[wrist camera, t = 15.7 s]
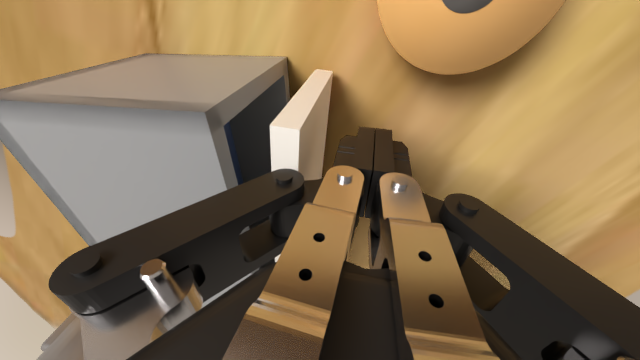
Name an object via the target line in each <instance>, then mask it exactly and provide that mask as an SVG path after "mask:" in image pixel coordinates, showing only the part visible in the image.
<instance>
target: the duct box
mask: <svg viewBox="0 0 640 360" xmlns="http://www.w3.org/2000/svg"><path fill="white" fill-rule="evenodd" d="M289 101H290V90H289V78H288V65H287V57H273V56H229V55H185V54H142V55H138V56H134V57H130V58H125V59H121V60H117V61H113V62H109V63H105V64H101V65H97V66H93V67H89V68H85V69H81V70H77V71H73V72H69V73H65V74H61V75H56V76H52V77H48V78H44V79H40V80H36V81H32V82H28V83H24V84H20V85H16V86H12V87H8V88H4V89H0V140H1V142H2V143H3V144H4V145H5V146H6V147H7V149H8V150H9V151H10V152H11V153H12V155H13V156H14V157H15V158H16V159H17V161H18V162H19V163H20V164H21V165H22V167H23V168H24V169H25V170H26V171H27V173H28V174H29V175H30V176H31V177H32V178H33V180H34V181H35V182H36V183H37V184H38V186H39V187H40V188H41V189H42V190H43V192H44V193H45V194H46V195H47V196H48V198H49V199H50V200H51V201H52V202H53V204H54V205H55V206H56V207H57V208H58V209H59V211H60V212H61V213H62V214H63V215H64V217H65V218H66V219H67V220H68V221H69V223H70V224H71V225H72V226H73V227H74V229H75V230H76V231H77V232H78V233H79V235H80V236H81V237H82V238H83V239H84V241H85V242H86V243H87V244H88V245H89V246H92V245H94V244H97V243H99V242H101V241H104V240H106V239H109V238H111V237H114V236H116V235H118V234H121V233H123V232H126V231H128V230H131V229H133V228H136V227H138V226H140V225H143V224H145V223H148V222H150V221H153V220H155V219H157V218H160V217H162V216H165V215H167V214H170V213H172V212H174V211H177V210H179V209H182V208H184V207H187V206H189V205H192V204H194V203H196V202H199V201H201V200H204V199H206V198H209V197H211V196H213V195H216V194H218V193H221V192H223V191H226V190H228V189H231V188H233V187H235V186H238V185H240V184H243V183H245V182H248V181H250V180H252V179H255V178H257V177H260V176H262V175H265V174H267V173H270V172H271V147H270V124H271V123H272V122H273V121H274V119H275V118H276V117H277V116H278V114H279V113H280V112H281V111H282V110H283V108H284V107H285V106H286V105H287V104H288V102H289ZM269 219H270V217H269V216H267V217H265V218H263V219H261V220H259V221H257V222H255V223H253V224H251V225H249V226H247V227H246V228H245V229H244V230H243V231H242V232H241V233H240V234H242V233H244V232H246V231H248V230H250V229H252V228H254V227H256V226H257V225H259V224H261V223H263V222H265V221H267V220H269ZM274 262H275V258H274V259H272V260H270V261H269V262H267V263H266V264H264V265H262V266H261V267H259V268H258V269H256V270H255V271H253V272H251V273H250V274H248V275H247V276H245V277H243V278H242V279H240V280H239V281H237V282H235V283H234V284H232V285H231V286H229V287H227V288H226V289H224V290H223V291H221V292H219V293H218V294H216V295H215V296H213V297H211V298H210V299H208V300H207V301H205V302H204V303H203V304H202V307H201V308H203V307H204V306H206V305H207V304H209V303H210V302H212V301H213V300H215V299H216V298H218V297H219V296H221V295H222V294H224V293H225V292H227V291H228V290H229V289H231V288H232V287H234V286H235V285H237V284H238V283H240V282H241V281H243V280H244V279H246V278H247V277H249V276H250V275H252V274H253V273H255V272H256V271H258V270H259V269H261V268H263V267H265V266H267V265H269V264H272V263H274Z"/></svg>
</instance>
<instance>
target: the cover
mask: <svg viewBox="0 0 640 360" xmlns="http://www.w3.org/2000/svg"><path fill="white" fill-rule="evenodd" d="M332 77H333V71H327V70H320V69H316V70H315V71H314V72H313V73H312V74H311V76H310V77H309V78H308V79H307V81H306V82H305V83H304V84H303V85H302V87H301V88H300V89H299V90H298V91H297V93H296V94H295V95H294V96H293V97H292V99H291V100H290V101H289V102H288V104H287V105H286V106H285V107H284V108H283V110H282V111H281V112H280V113H279V114H278V116H277V117H276V118H275V119H274V121H273V122H272V123H271V124H270V147H271V172H272V171H275V170H278V169H293V170H296V171H298V172H300V173H301V174H302V175H303V177H304V180H316V179H321V178H322V168H323V159H324V150H325V141H326V132H327V122H328V113H329V104H330V95H331V86H332ZM280 255H281V254H280ZM280 255H278V256H277V257H275V262H277V261H278V259H279V257H280Z"/></svg>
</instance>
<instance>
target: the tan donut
mask: <svg viewBox="0 0 640 360" xmlns="http://www.w3.org/2000/svg"><path fill="white" fill-rule="evenodd" d="M564 2H565V0H377V6H378V12H379V16H380V19H381V23H382V26H383V29H384V31H385V33H386V36H387V38H388V39H389V41H390V43H391V44H392V46H393V47H394V48H395V50H396V51H397V52H398V53H399V54H400V55H401V56H402V57H403V58H404V59H405V60H406V61H408V62H409V63H411V64H412V65H414V66H416V67H418V68H420V69H422V70H425V71H428V72H432V73H437V74H462V73H468V72H472V71H476V70H480V69H482V68H485V67H488V66H490V65H493V64H495V63H497V62H499V61H501V60H503V59H504V58H506V57H508V56H509V55H511V54H513V53H514V52H516V51H517V50H518V49H520V48H521V47H522V46H524V45H525V44H526V43H528V42H529V41H530V40H531V39H532V38H533V37H534V36H536V35H537V34H538V33H539V32H540V31H541V30H542V29H543V28H544V27H545V26H546V25H547V23H548V22H549V21H550V20H551V19H552V18H553V16H554V15H555V14H556V13H557V12H558V10H559V9H560V8H561V6H562V5H563V3H564Z"/></svg>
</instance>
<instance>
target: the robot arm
mask: <svg viewBox="0 0 640 360" xmlns="http://www.w3.org/2000/svg"><path fill="white" fill-rule="evenodd" d="M374 132H375V134H374ZM408 155H409V154H408V148H407V147H406V146H405V145H404V144H403V143H402V142H398V141H393V140H392V130H386V129H378V128H376V129H375V128H368V127H359V130H358V136H357V137H356V136H347V135H346V136H345V137H344V138H342V139H341V140H340V143H339V147H338V150H337V154H336V157H335V161H334V164H333V167H332V168H330V169H329V170H328V171H327V172H326V175H325V177H323V178H321V179H316V180H304V177H303V175H302V174H301V173H300V172H298V171H296V170H293V169H278V170H275V171H272V172H270V173H267V174H265V175H262V176H260V177H257V178H255V179H252V180H250V181H248V182H245V183H243V184H240V185H238V186H235V187H233V188H231V189H228V190H226V191H223V192H221V193H218V194H216V195H213V196H211V197H209V198H206V199H204V200H201V201H199V202H196V203H194V204H192V205H189V206H187V207H184V208H182V209H179V210H177V211H174V212H172V213H170V214H167V215H165V216H162V217H160V218H157V219H155V220H153V221H150V222H148V223H145V224H143V225H140V226H138V227H136V228H133V229H131V230H128V231H126V232H123V233H121V234H118V235H116V236H114V237H111V238H109V239H106V240H104V241H101V242H99V243H97V244H94V245H92V246H89V247H87V248H84V249H82V250H80V251H78V252H76V253H74V254H73V255H71V256H70V257H68V258H67V259H66V260H64V261H63V262H62V263H61V264H60V265H59V266H58V267H57V268H56V269H55V270H54V272H53V273H52V275H51V277H50V280H49V288H50V290H51V291H52V292H53V293H54V294H55V295H56V296H57V297H58V298H59V299H61V300H62V301H63V302H64V303H65V304H66V305H68V306H69V308H70V310H71V312H72V314H71V315H70V316H69V317H68V318H67V319H66V320H65V321H64V322H63V323H62V324H61V325H60V326H59V327H58V328H57V329H56V330H55V331H54V332H53V333H52V334H51V336H50V337H49V338H48V339H47V340H46V341H45V342H44V343H43V344H42V346H41V350H42V351H44V352H43V353H42V354H41V355H40V356H39V358H38V359H37V360H640V308H639V307H638V306H636V305H635V304H633V303H632V302H630V301H629V300H628V299H626V298H625V297H623V296H622V295H620V294H619V293H617V292H616V291H614V290H613V289H611V288H610V287H608V286H607V285H605V284H604V283H602V282H601V281H599V280H598V279H596V278H595V277H593V276H592V275H590V274H589V273H587V272H586V271H584V270H583V269H581V268H580V267H579V266H577V265H576V264H574V263H573V262H571V261H570V260H568V259H567V258H565V257H564V256H562V255H561V254H559V253H558V252H556V251H555V250H553V249H552V248H550V247H549V246H547V245H546V244H544V243H543V242H541V241H540V240H538V239H537V238H535V237H534V236H532V235H531V234H530V233H528V232H527V231H525V230H524V229H522V228H521V227H519V226H518V225H516V224H515V223H513V222H512V221H510V220H509V219H507V218H506V217H504V216H503V215H501V214H500V213H498V212H497V211H495V210H494V209H492V208H491V207H489V206H488V205H486V204H485V203H483V202H482V201H480V200H479V199H477V198H475V197H472V196H469V195H465V194H451V195H448V196H447V197H446V198H445V200H444V201H441V200H438V199H436V198H433V197H430V196H428V195H426V194H424V193H422V191H421V188H420V185H419V183H418V182H417V181H416V180H415V179H414V178H412V173H411V167H410V161H409V156H408ZM365 205H366V206H365ZM364 211H365V217H366V218H370V227H369V231H368V245H369V269H364V268H361V267H359V266H357V265H354V264H352V263H350V262H348V261H349V257H350V252H351V248H352V243H353V239H354V234H355V229H356V227H357V225H358V222H359V217H363V216H364ZM267 216H269V217H270V219H269V220H267V221H265V222H263V223H261V224H259V225H257V226H256V227H254V228H252V229H250V230H248V231H246V232H244V233H242V234H240V233H241V232H242V231H243V230H244V229H245V228H246V227H247V226H249V225H251V224H253V223H255V222H257V221H259V220H261V219H263V218H265V217H267ZM473 248H474V249H475V250H476V251H477V252H478V253H480V254H481V255H482V256H483V257H484V258H486V259H487V260H488V261H489V262H490V263H492V264H493V265H494V266H495V267H496V268H497V269H499V270H500V271H501V272H502V273H503V274H504V275H505V276H506V277H507V279H508V280H509V282H510V290H508V289H506V288H505V287H504V286H502V285H501V284H500V283H499V282H498V281H497V280H496V279H494V278H493V277H492V276H491V275H490V274H489V273H488V272H486V271H485V270H484V269H483V268H482V267H481V266H480V265H479V264H477V263H476V262H475V261H474V260H473V259H472V258H471V257H469V254H470V253H471V251H472V250H473ZM280 254H281V255H280ZM278 255H280V257H279V259H278V261H277V262H274V263H272V264H269V265H267V266H265V267H263V268H261V269H259V270H258V271H256V272H255V273H253V274H252V275H250V276H249V277H247V278H246V279H244V280H243V281H241V282H240V283H238V284H237V285H235V286H234V287H232V288H231V289H229V290H228V291H227V292H225V293H224V294H222V295H221V296H219V297H218V298H216V299H215V300H213V301H212V302H210V303H209V304H207V305H206V306H204V307H203V308H201V307H202V304H203V303H204V302H205V301H207V300H208V299H210V298H211V297H213V296H215V295H216V294H218V293H219V292H221V291H223V290H224V289H226V288H227V287H229V286H231V285H232V284H234V283H235V282H237V281H239V280H240V279H242V278H243V277H245V276H247V275H248V274H250V273H251V272H253V271H255V270H256V269H258V268H259V267H261V266H262V265H264V264H266V263H267V262H269V261H270V260H272V259H274V258H275V257H277V256H278Z"/></svg>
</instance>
